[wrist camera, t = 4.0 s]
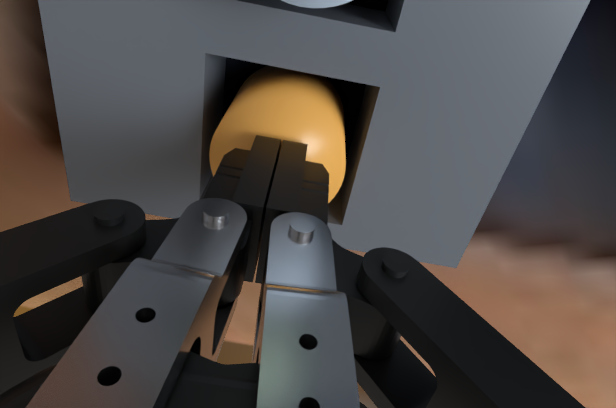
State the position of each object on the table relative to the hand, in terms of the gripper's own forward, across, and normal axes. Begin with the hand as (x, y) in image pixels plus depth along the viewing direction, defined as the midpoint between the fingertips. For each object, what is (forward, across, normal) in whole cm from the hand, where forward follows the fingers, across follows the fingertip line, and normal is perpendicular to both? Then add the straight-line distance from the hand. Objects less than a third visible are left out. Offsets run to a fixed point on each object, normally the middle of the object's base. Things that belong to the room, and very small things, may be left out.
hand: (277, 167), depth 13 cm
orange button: (+4, 0, 0) cm, 4 cm away
